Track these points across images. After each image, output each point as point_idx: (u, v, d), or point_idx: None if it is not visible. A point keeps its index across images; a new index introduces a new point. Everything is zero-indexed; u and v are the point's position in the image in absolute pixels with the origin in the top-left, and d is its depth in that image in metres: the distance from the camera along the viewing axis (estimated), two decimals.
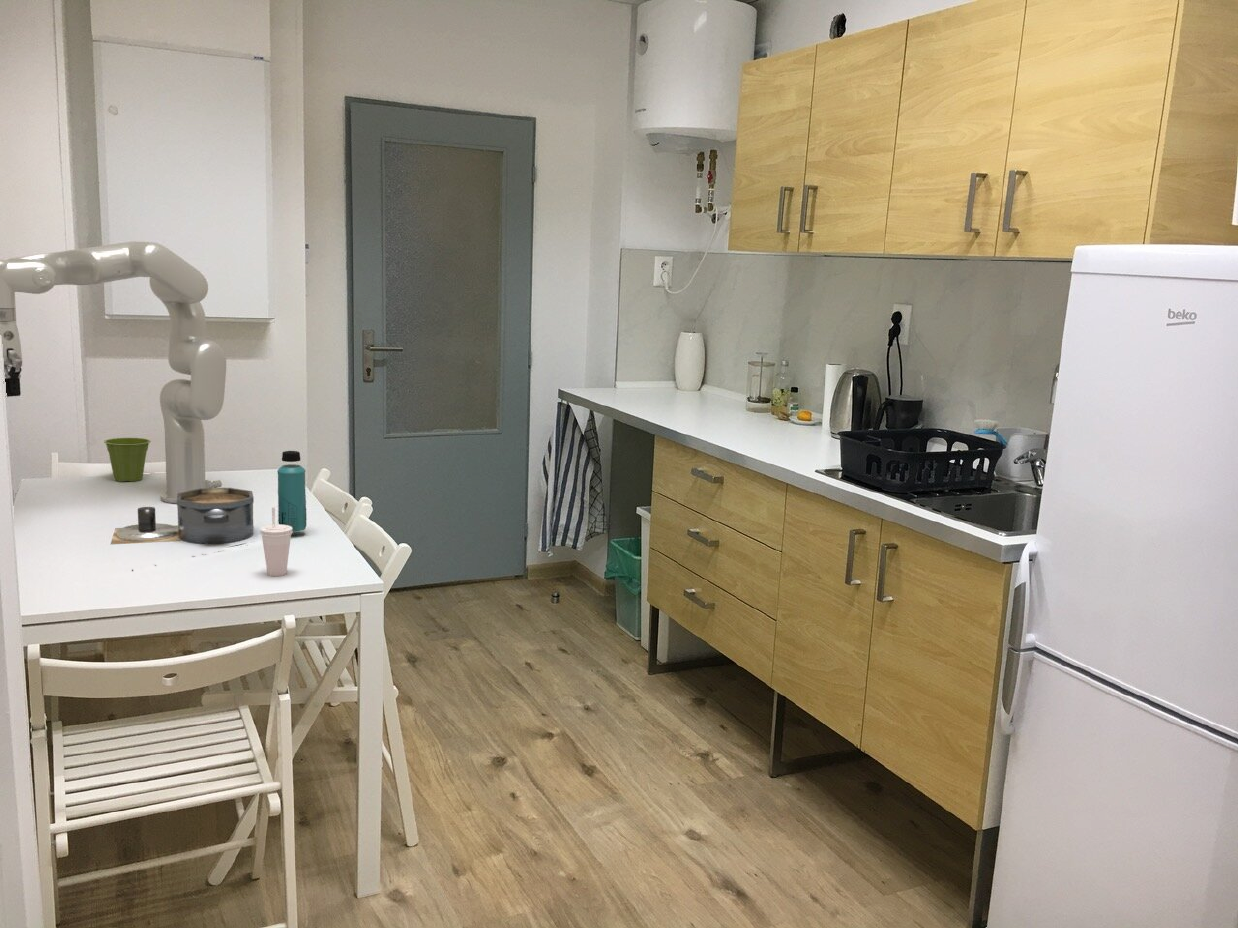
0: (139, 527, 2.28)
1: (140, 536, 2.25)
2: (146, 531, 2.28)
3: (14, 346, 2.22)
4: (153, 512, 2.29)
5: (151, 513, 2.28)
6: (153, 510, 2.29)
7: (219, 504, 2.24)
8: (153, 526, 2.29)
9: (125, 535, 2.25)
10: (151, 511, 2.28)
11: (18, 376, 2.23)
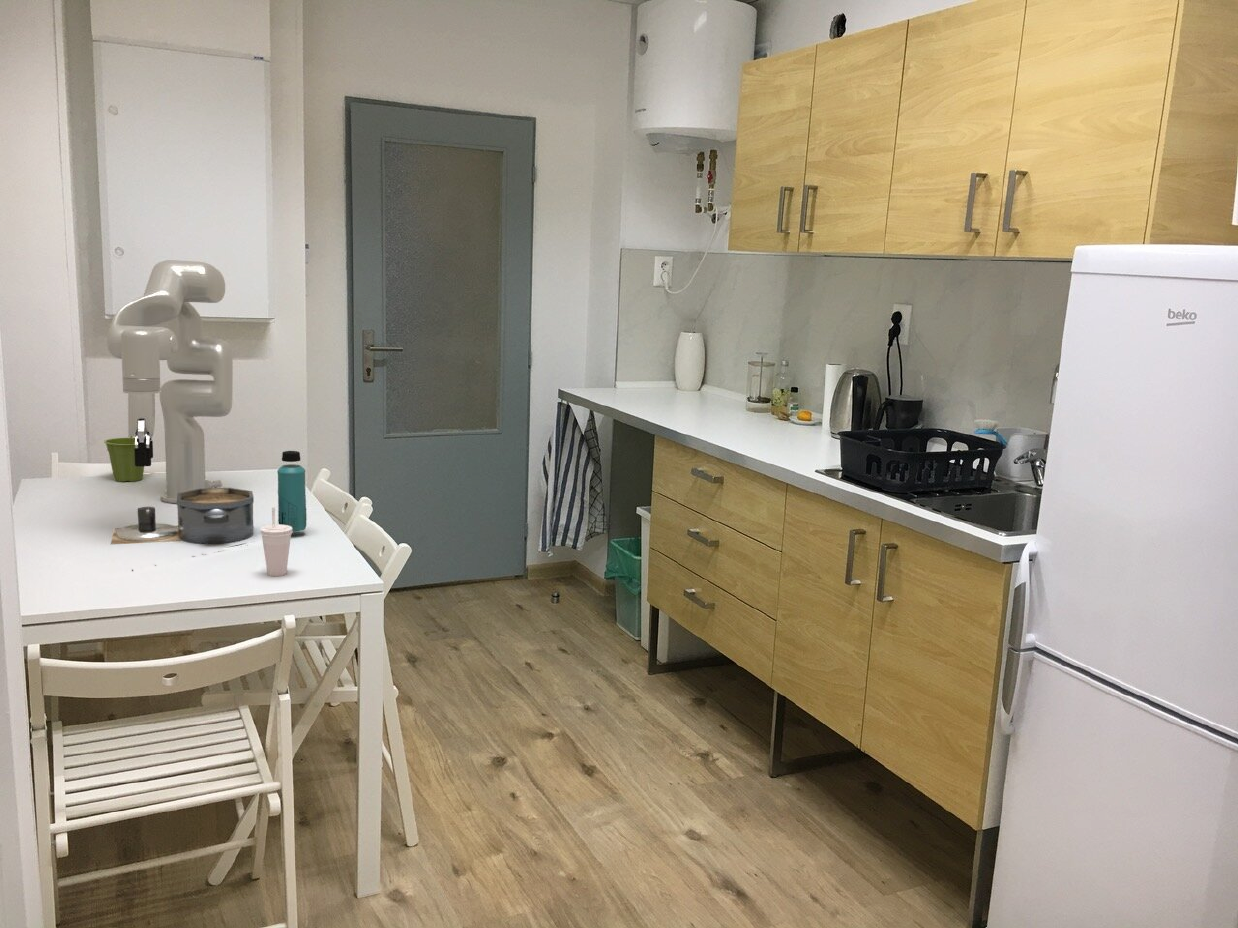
0: (139, 527, 2.28)
1: (140, 536, 2.25)
2: (146, 531, 2.28)
3: None
4: (153, 512, 2.29)
5: (151, 513, 2.28)
6: (153, 510, 2.29)
7: (219, 504, 2.24)
8: (153, 526, 2.29)
9: (125, 535, 2.25)
10: (151, 511, 2.28)
11: None
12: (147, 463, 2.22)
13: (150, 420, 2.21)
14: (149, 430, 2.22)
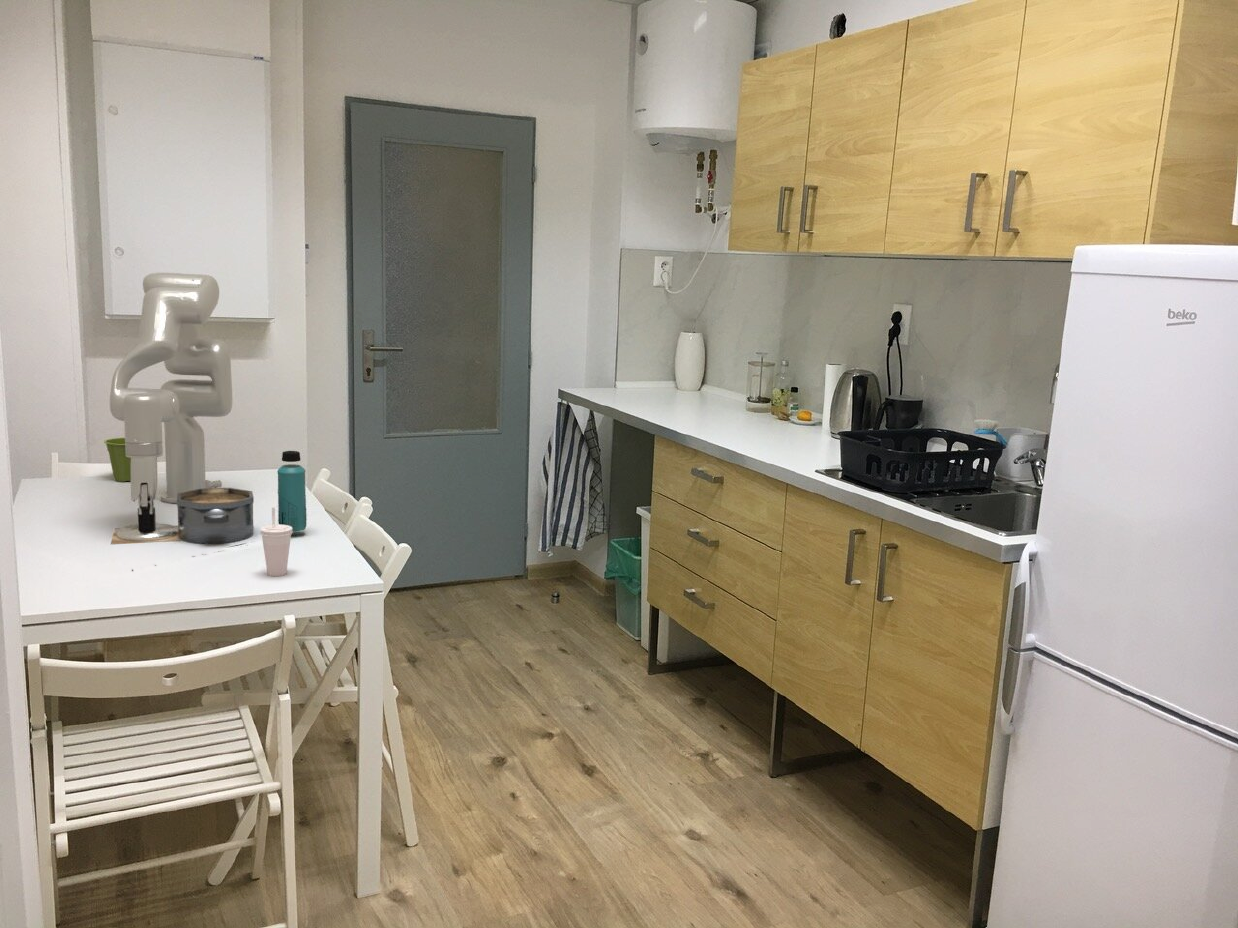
0: None
1: (140, 536, 2.25)
2: None
3: None
4: (153, 512, 2.29)
5: None
6: (153, 510, 2.29)
7: (219, 504, 2.24)
8: None
9: (125, 535, 2.25)
10: None
11: None
12: (150, 528, 2.28)
13: (152, 484, 2.24)
14: (152, 499, 2.25)
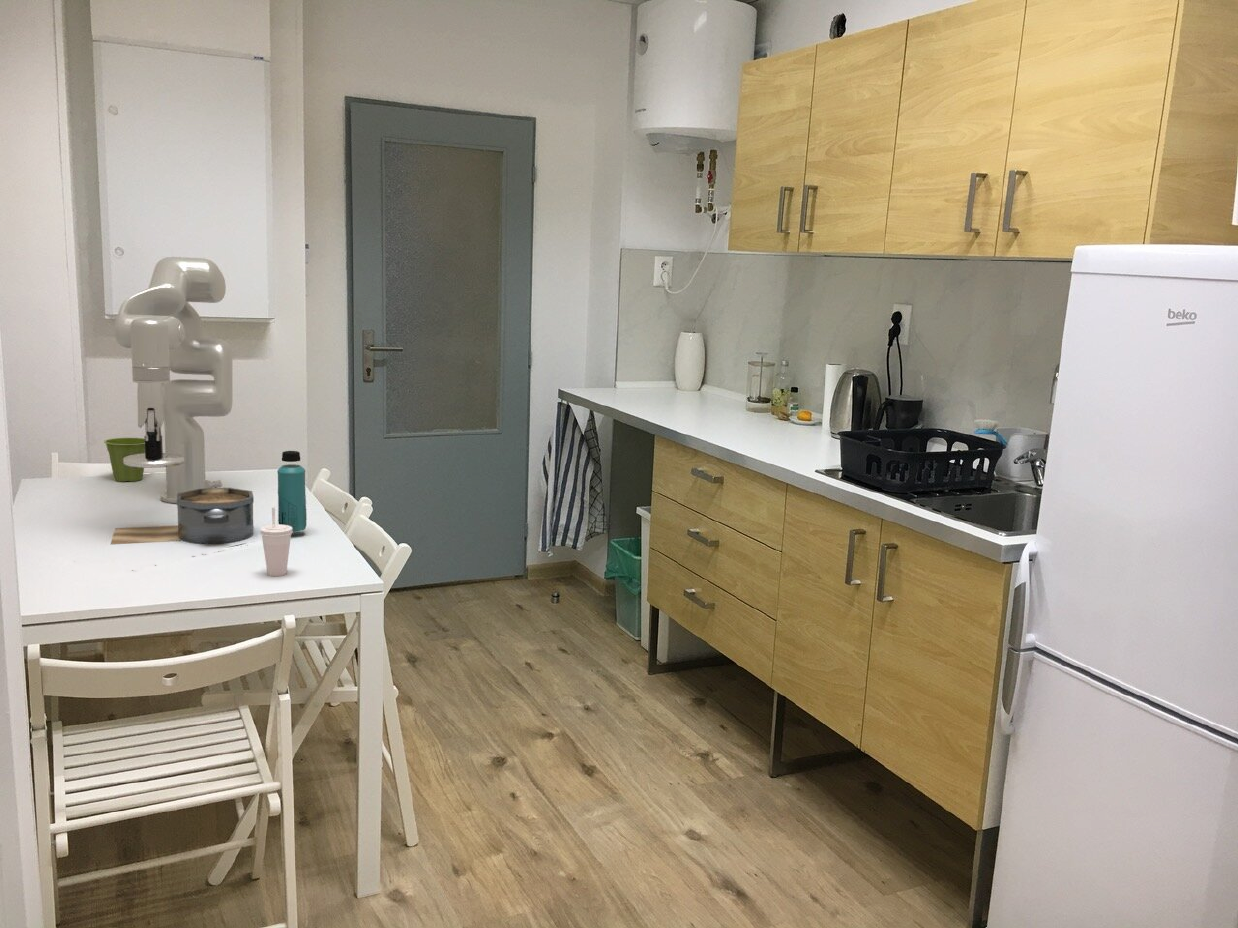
0: None
1: (147, 462, 2.22)
2: None
3: None
4: (160, 439, 2.26)
5: None
6: (160, 437, 2.26)
7: (219, 504, 2.24)
8: None
9: (132, 461, 2.22)
10: None
11: None
12: (157, 456, 2.25)
13: (159, 409, 2.21)
14: (159, 425, 2.23)
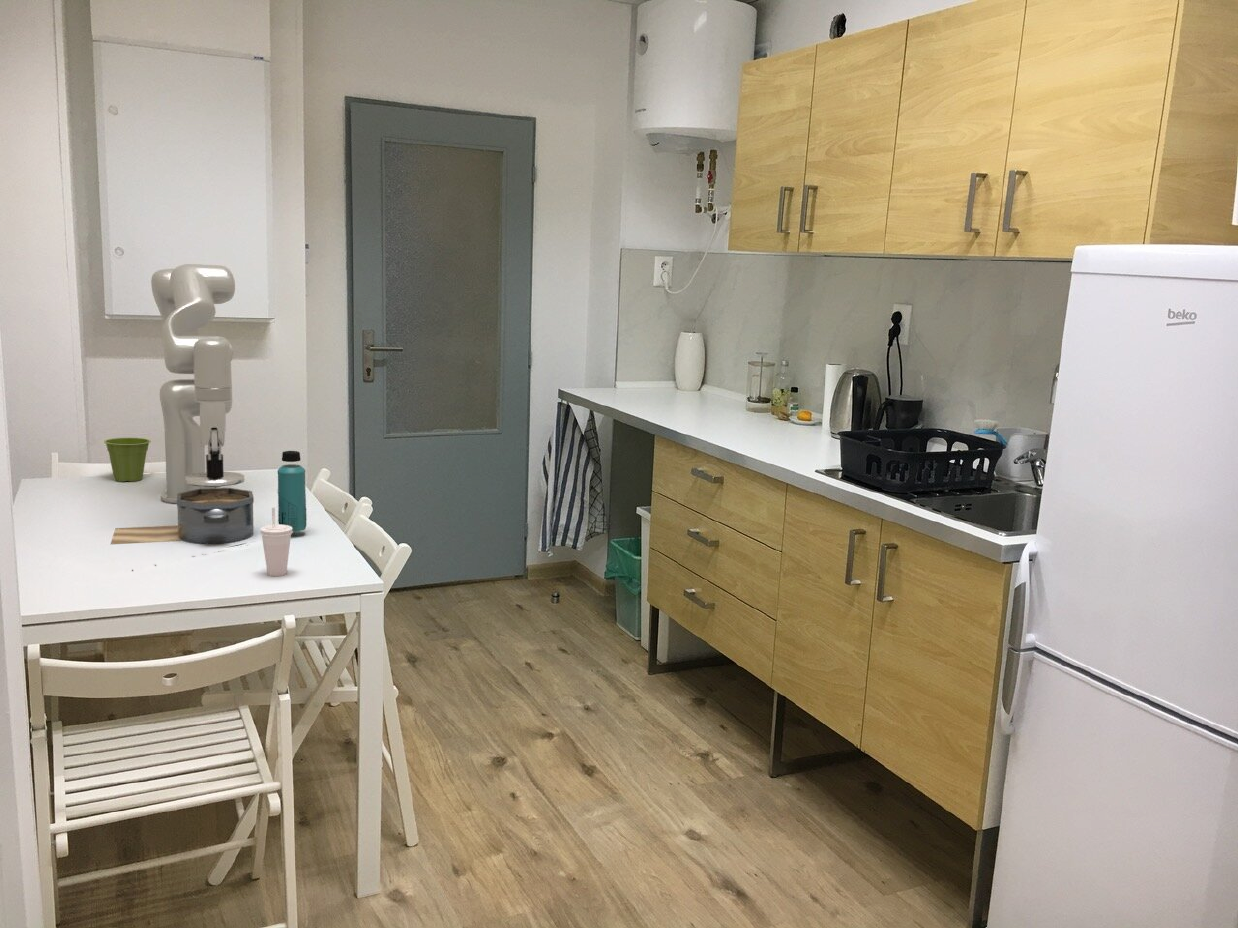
0: None
1: (210, 481, 2.25)
2: None
3: None
4: (221, 458, 2.29)
5: None
6: (221, 456, 2.29)
7: (219, 504, 2.24)
8: None
9: (195, 480, 2.25)
10: None
11: None
12: (219, 474, 2.28)
13: (222, 429, 2.24)
14: None
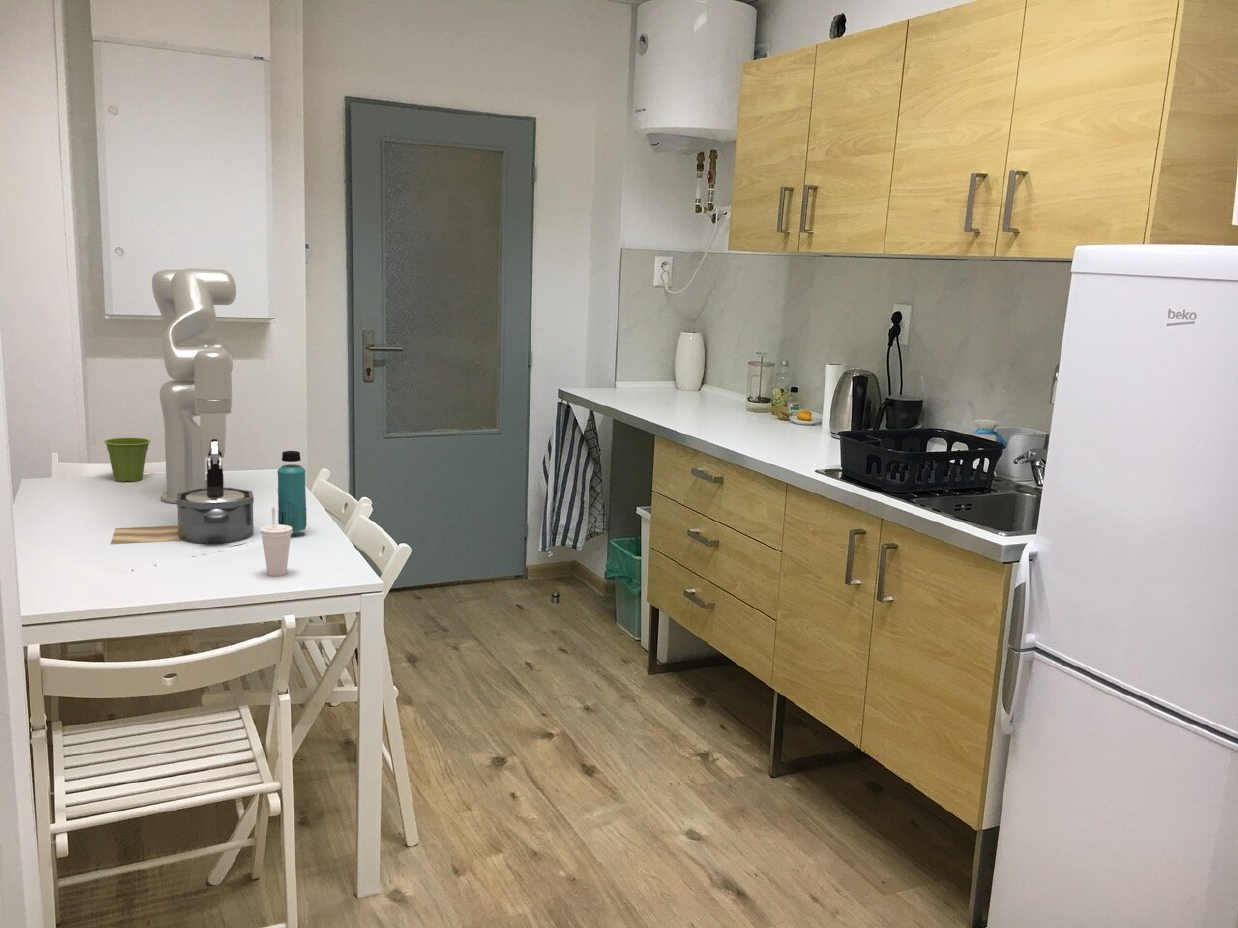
0: (208, 492, 2.30)
1: (210, 501, 2.26)
2: (215, 496, 2.29)
3: None
4: None
5: None
6: None
7: (219, 504, 2.24)
8: (221, 492, 2.30)
9: (195, 500, 2.26)
10: None
11: None
12: (219, 483, 2.26)
13: (222, 441, 2.25)
14: (221, 451, 2.25)
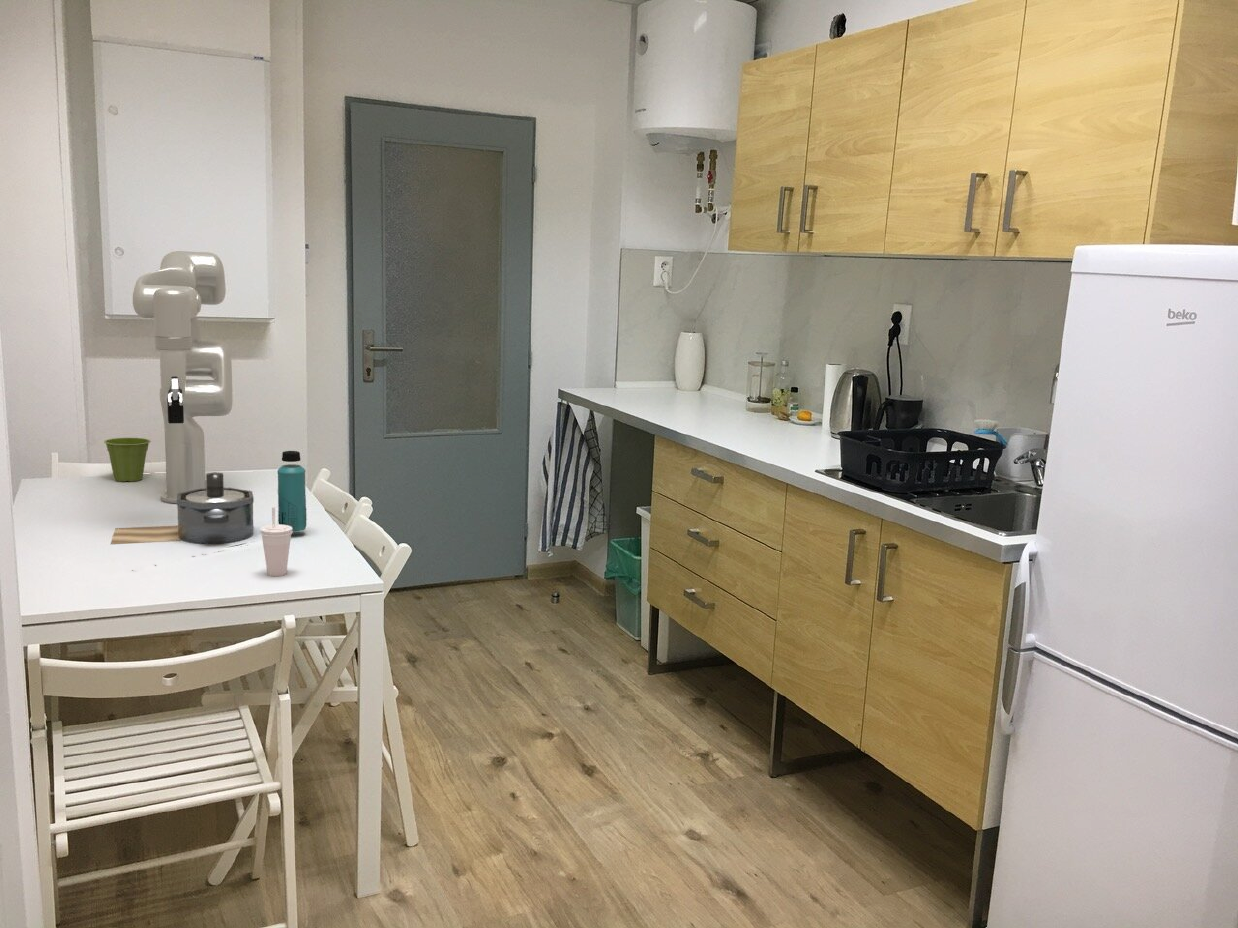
0: (208, 492, 2.30)
1: (210, 501, 2.26)
2: (215, 496, 2.29)
3: None
4: (221, 477, 2.30)
5: (220, 478, 2.29)
6: (221, 475, 2.30)
7: (219, 504, 2.24)
8: (221, 491, 2.30)
9: (195, 500, 2.26)
10: (220, 476, 2.29)
11: None
12: (180, 420, 2.28)
13: (183, 378, 2.26)
14: (182, 388, 2.27)
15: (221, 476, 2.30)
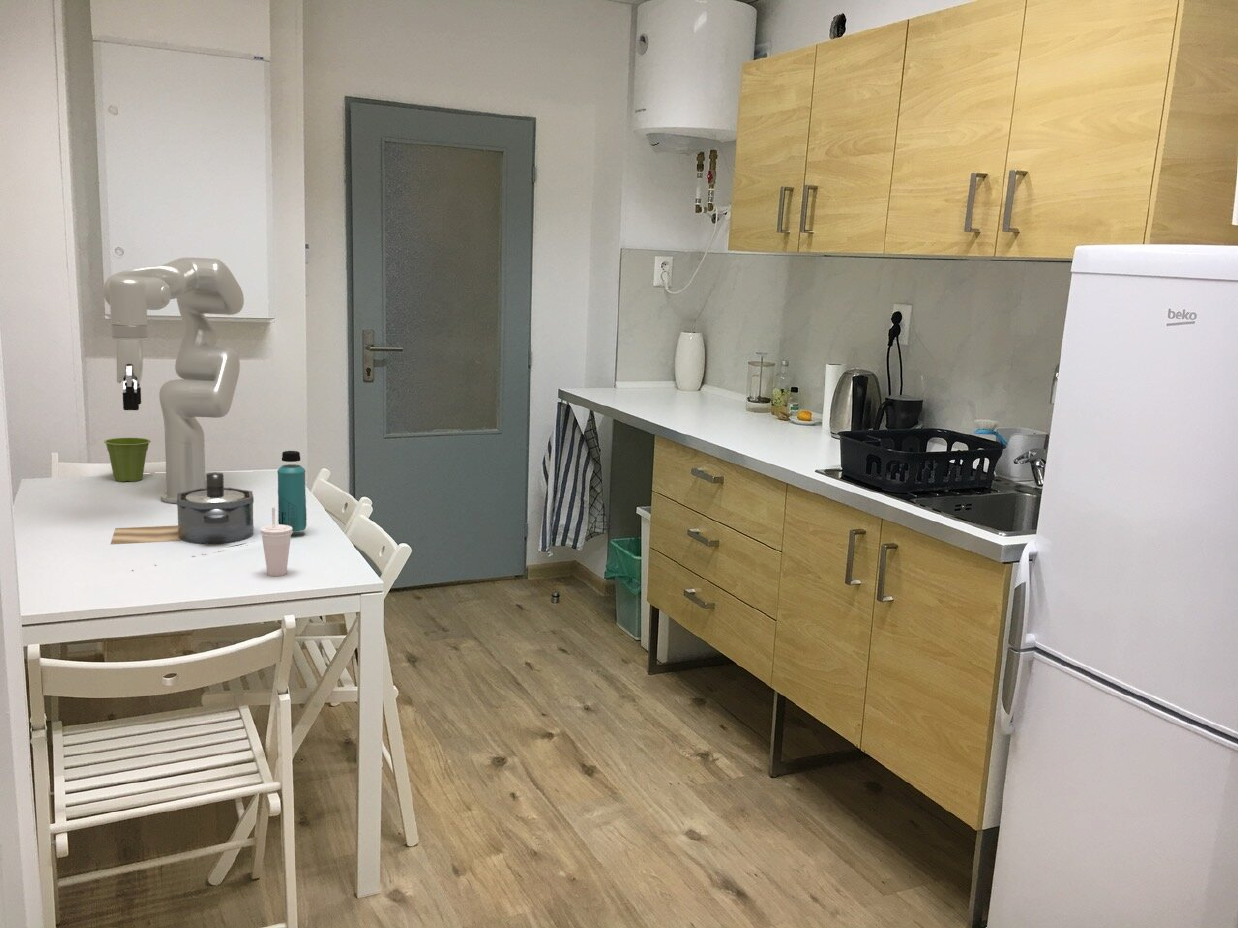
0: (208, 492, 2.30)
1: (210, 501, 2.26)
2: (215, 496, 2.29)
3: None
4: (222, 478, 2.30)
5: (220, 478, 2.29)
6: (222, 476, 2.30)
7: (219, 504, 2.24)
8: (221, 491, 2.30)
9: (195, 500, 2.26)
10: (220, 476, 2.29)
11: None
12: (135, 407, 2.31)
13: (138, 366, 2.30)
14: (137, 375, 2.30)
15: (221, 476, 2.30)
